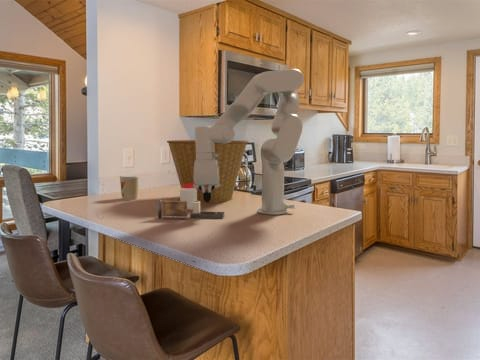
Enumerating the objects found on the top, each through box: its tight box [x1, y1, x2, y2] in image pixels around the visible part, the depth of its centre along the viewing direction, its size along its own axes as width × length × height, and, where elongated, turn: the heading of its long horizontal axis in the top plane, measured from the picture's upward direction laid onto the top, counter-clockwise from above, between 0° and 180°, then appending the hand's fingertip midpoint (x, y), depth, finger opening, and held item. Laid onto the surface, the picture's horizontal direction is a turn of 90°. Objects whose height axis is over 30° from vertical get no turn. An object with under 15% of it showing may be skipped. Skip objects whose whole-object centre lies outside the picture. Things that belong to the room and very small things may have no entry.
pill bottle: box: [179, 183, 197, 211], centre depth 175 cm, size 8×8×11 cm
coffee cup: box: [119, 174, 139, 201], centre depth 198 cm, size 9×9×12 cm
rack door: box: [162, 200, 188, 218], centre depth 152 cm, size 10×1×6 cm, turn 86°
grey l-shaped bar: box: [157, 199, 188, 220], centre depth 152 cm, size 12×1×8 cm, turn 86°
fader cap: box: [192, 201, 201, 213], centre depth 156 cm, size 2×4×5 cm, turn 176°
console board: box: [190, 210, 225, 220], centre depth 157 cm, size 13×6×2 cm, turn 86°
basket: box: [166, 139, 250, 204], centre depth 200 cm, size 42×42×30 cm
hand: (207, 201), depth 156 cm, fingers closed
